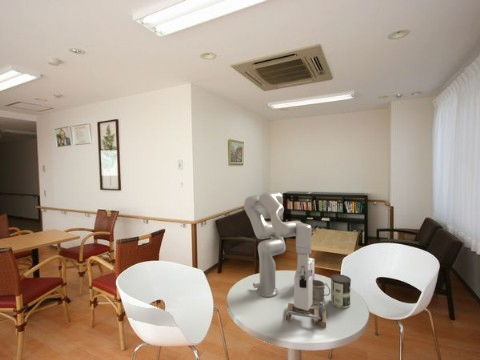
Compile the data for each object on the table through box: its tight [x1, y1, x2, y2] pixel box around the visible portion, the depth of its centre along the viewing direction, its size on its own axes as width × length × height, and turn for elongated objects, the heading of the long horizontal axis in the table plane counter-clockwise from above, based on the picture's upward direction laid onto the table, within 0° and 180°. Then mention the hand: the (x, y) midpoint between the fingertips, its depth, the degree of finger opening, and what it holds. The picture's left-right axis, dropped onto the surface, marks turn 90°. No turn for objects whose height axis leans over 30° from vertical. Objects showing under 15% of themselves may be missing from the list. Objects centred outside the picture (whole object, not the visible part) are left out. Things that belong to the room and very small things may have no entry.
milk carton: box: [293, 269, 313, 311], centre depth 127 cm, size 7×7×19 cm
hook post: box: [318, 302, 324, 321], centre depth 121 cm, size 2×4×8 cm, turn 163°
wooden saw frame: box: [285, 302, 327, 329], centre depth 128 cm, size 19×12×2 cm, turn 73°
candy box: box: [308, 257, 315, 280], centre depth 160 cm, size 14×6×16 cm, turn 144°
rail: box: [287, 311, 321, 322], centre depth 123 cm, size 16×1×4 cm, turn 73°
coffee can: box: [330, 273, 352, 309], centre depth 141 cm, size 10×10×14 cm
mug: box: [312, 279, 331, 305], centre depth 142 cm, size 14×10×12 cm
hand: (303, 283), depth 127 cm, fingers closed on milk carton, 8 cm apart
